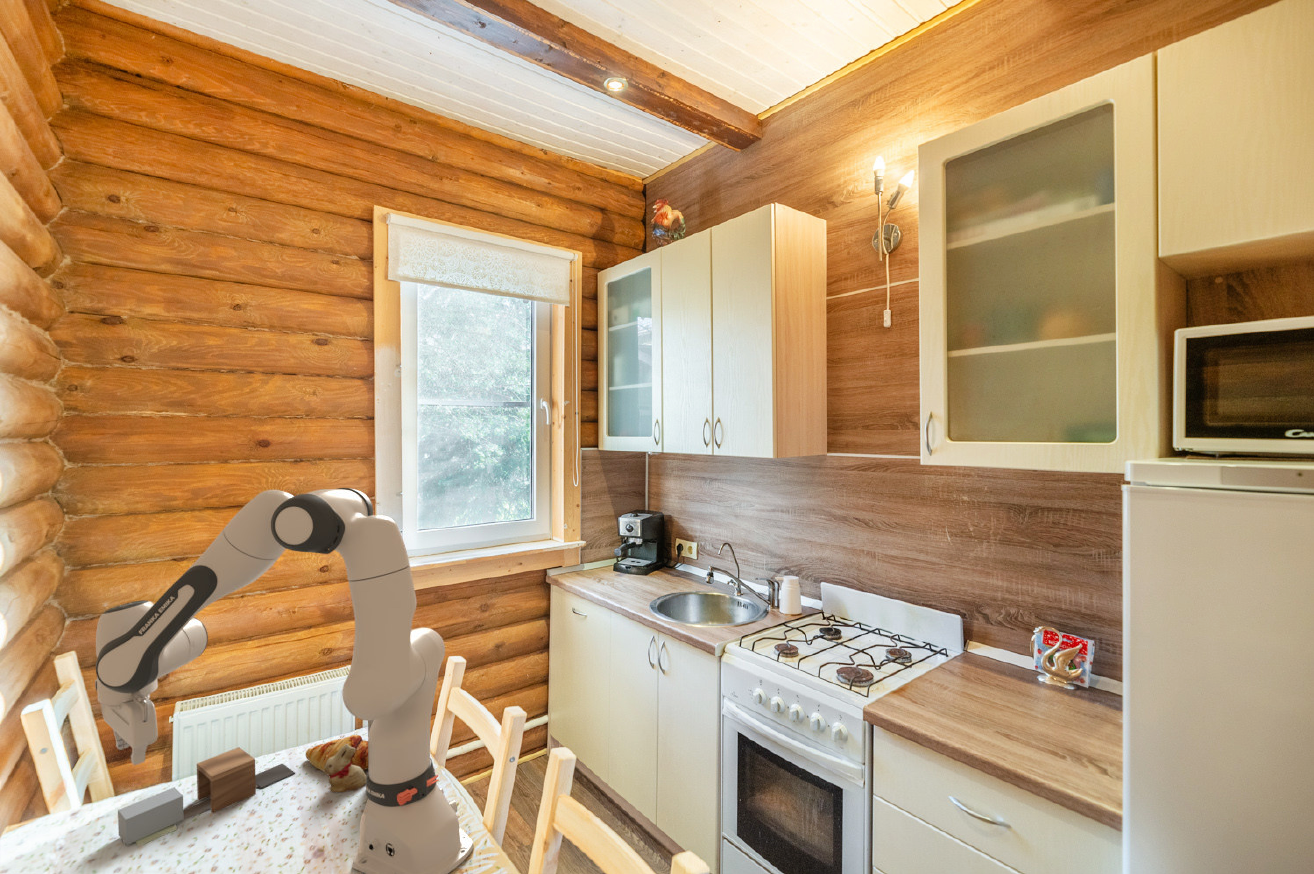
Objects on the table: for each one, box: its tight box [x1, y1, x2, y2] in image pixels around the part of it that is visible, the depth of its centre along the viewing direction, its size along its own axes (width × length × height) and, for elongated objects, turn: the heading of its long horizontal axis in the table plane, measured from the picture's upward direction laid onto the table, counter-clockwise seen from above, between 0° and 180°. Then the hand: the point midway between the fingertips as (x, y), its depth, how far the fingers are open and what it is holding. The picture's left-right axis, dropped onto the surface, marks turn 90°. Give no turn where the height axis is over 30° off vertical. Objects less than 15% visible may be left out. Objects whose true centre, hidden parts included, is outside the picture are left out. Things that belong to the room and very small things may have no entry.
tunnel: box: [134, 746, 296, 847], centre depth 129 cm, size 8×28×8 cm, turn 145°
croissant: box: [305, 734, 368, 773], centre depth 143 cm, size 21×10×8 cm, turn 81°
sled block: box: [117, 787, 185, 846], centre depth 120 cm, size 5×9×5 cm, turn 145°
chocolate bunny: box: [324, 744, 367, 793], centre depth 134 cm, size 6×8×10 cm
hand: (130, 754), depth 118 cm, fingers open, 8 cm apart
